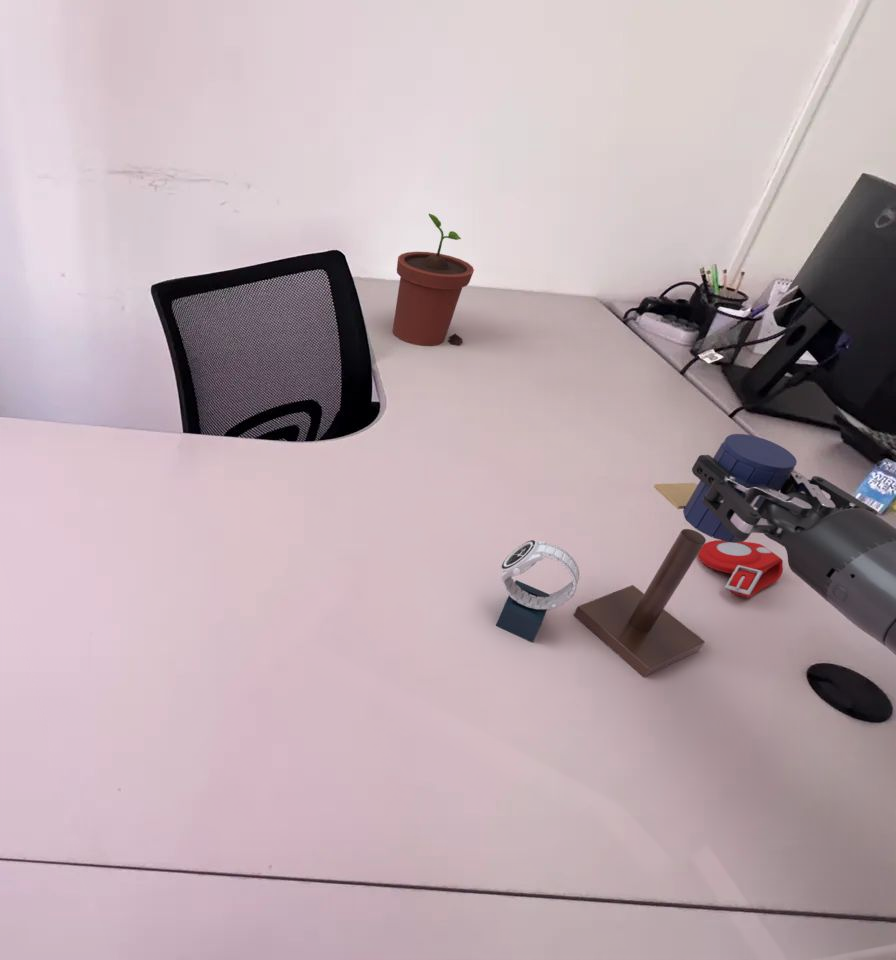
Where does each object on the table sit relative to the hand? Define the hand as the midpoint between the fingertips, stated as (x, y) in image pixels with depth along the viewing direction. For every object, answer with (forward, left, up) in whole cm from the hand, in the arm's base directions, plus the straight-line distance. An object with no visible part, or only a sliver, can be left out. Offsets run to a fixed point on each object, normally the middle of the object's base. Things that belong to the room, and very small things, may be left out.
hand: (726, 462), depth 68 cm
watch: (+13, -6, -24) cm, 28 cm away
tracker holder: (-21, -1, -24) cm, 32 cm away
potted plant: (-32, -81, -24) cm, 90 cm away
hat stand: (+1, +1, -23) cm, 23 cm away
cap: (0, +1, -6) cm, 6 cm away
